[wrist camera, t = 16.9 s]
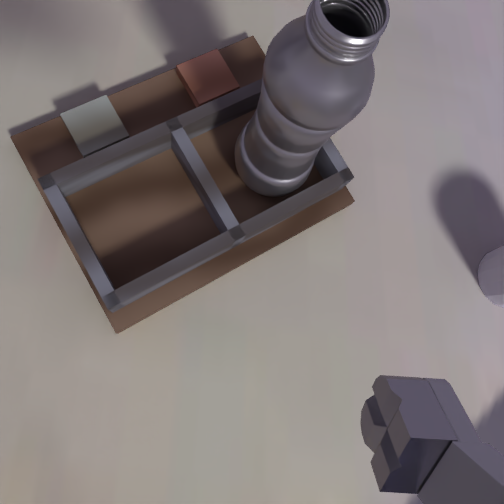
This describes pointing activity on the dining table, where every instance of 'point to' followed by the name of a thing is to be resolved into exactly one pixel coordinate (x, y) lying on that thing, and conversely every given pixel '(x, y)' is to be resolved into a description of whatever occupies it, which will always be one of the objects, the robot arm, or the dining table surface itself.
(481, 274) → the white cup
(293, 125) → the plastic bottle
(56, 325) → the dining table surface
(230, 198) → the socket board
